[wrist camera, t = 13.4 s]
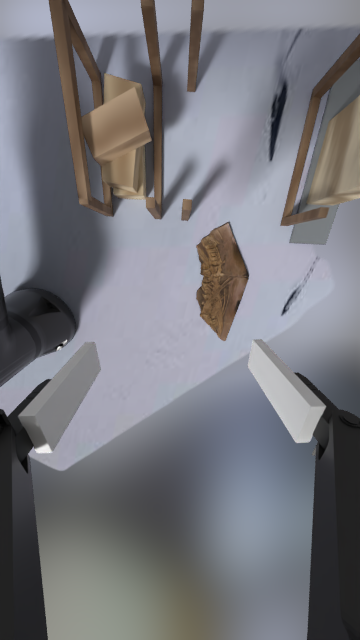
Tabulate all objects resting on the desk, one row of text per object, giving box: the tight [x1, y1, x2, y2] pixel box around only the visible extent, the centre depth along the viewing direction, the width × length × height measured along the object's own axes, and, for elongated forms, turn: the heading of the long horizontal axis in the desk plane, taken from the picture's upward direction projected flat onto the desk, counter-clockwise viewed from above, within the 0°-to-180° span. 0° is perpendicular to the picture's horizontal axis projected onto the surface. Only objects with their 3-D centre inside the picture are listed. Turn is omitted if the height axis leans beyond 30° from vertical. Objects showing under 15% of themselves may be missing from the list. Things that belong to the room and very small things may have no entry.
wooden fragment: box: [196, 222, 249, 341], centre depth 37 cm, size 26×11×1 cm, turn 2°
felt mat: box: [289, 60, 360, 245], centre depth 29 cm, size 7×24×1 cm, turn 177°
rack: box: [49, 0, 360, 226], centre depth 25 cm, size 34×18×10 cm, turn 87°
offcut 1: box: [81, 87, 152, 166], centre depth 23 cm, size 4×8×2 cm, turn 110°
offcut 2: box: [102, 73, 145, 193], centre depth 25 cm, size 5×11×3 cm, turn 168°
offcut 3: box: [113, 144, 146, 200], centre depth 28 cm, size 5×12×3 cm, turn 178°
